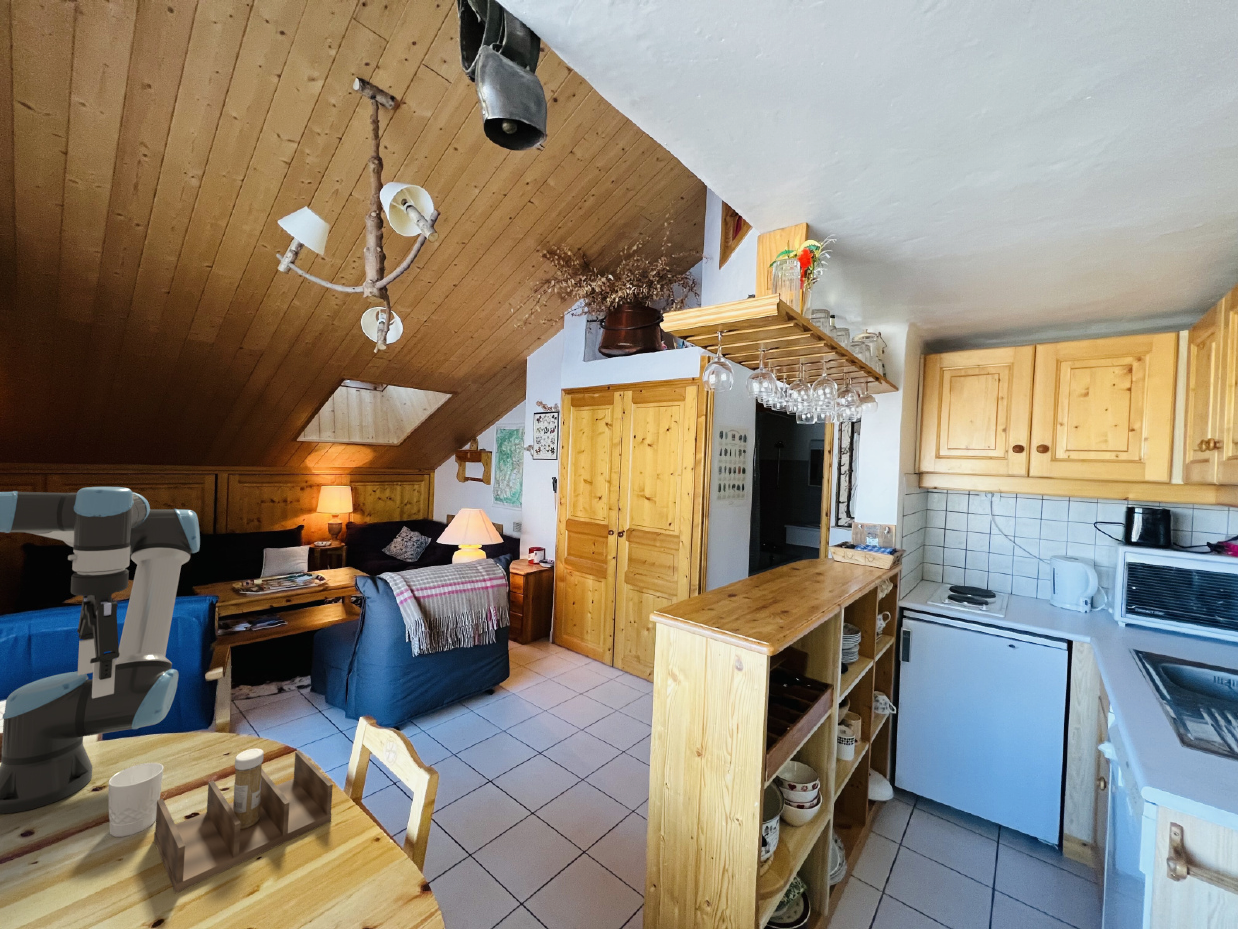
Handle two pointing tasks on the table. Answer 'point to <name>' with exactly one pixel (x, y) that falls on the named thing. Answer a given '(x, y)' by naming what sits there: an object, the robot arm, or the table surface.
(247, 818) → the sprinkles bottle
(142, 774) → the white cup
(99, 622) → the robot arm
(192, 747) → the table surface
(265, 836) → the slot rack
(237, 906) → the table surface
